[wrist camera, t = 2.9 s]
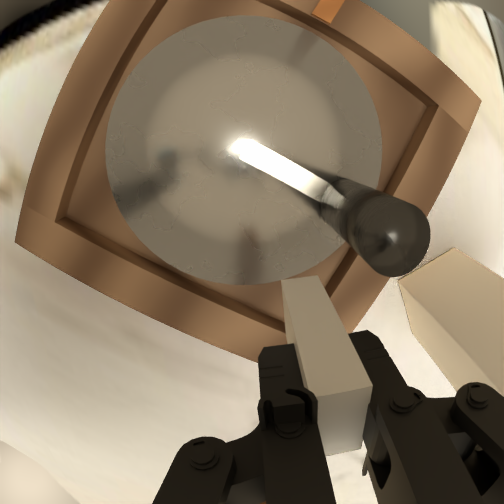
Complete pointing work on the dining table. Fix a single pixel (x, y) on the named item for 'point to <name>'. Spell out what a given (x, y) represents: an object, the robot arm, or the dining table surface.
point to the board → (165, 275)
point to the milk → (459, 318)
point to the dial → (254, 156)
